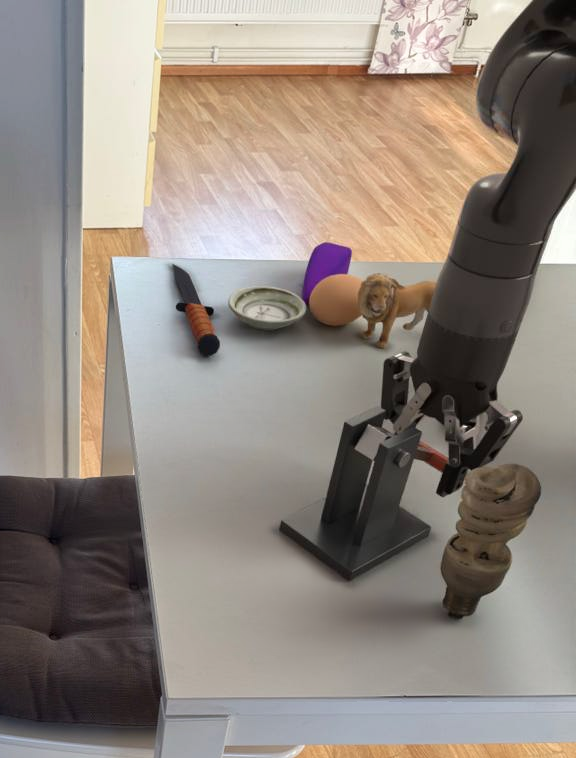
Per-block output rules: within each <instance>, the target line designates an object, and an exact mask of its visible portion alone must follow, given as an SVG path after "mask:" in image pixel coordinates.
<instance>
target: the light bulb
mask: <svg viewBox="0 0 576 758" xmlns="http://www.w3.org/2000/svg"><path fill="white" fill-rule="evenodd" d="M464 483H465V485H464V486H463V487H462V490H461V495H460V498H461V499H462V500H461V501H460V502H459V504H458V506H457V514H458V516H459V517H460V519H458V520H457V521H456V523H455V530H456V532H457V533H455V534H453V535H452V536H451V537H449V538H448V540H447V542H446V545H445V547H444V550H443V553H442V557H441V561H440V567H439V568H440V569H439V570H440V575H441V577H442V579H443V581H444V583H445V585H446V588H445V593H444V597H443V598H442V602H441V604H442V606H443V608H445V609H446V610H447V611H448V616H450V617H452V618H455V619H463V618H464V617H471V616H472V615H474V614H475V612H476V611H477V608H478V606H479V604H480V600H481V598H482V597H484V596H487V595H489V594H492V593H494V592H495V591H496V590H497V589H499V588H500V587H501V585H502V584H503V582H504V580H505V577H506V576H507V574H508V572H509V571H510V569H511V565H512V563H513V554H512V551H511V549H510V547H509V546H508V545H507V543H508V542H510V540H513V539H514V538H516V537H517V536H519V535H520V534H522V532H523V531H524V530H525V528H526V525H527V522H528V520H529V519H530V518H531V516H532V515H533V513H534V510H535V507H536V505H537V503H539V500H540V498H541V496H542V486H541V485H542V484H541V482H540V480H539V478H538V476H537V475H536V473H535V472H534V471H532V469H529V468H528V467H526V466H524V465H522V464H518V463H506V464H503V465H499V466H498V467H490V466H483V467H480V468H476V469H473V470H470V471H468V472H467V474H466V477H465V480H464Z"/></svg>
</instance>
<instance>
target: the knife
mask: <svg viewBox="0 0 576 758" xmlns="http://www.w3.org/2000/svg"><path fill="white" fill-rule="evenodd" d="M171 265H172V268H173V271H174V272H173V273H174V278H175V282H176V284H177V287H178V290H179V292H180V295H181V298H182V301H183V302H182V301H179V302H177V303H176V305H175V310H176V311H177V312H180V313H186V317H187V321H188V323H189V326H190V329H191V331H192V334H193V335H194V338H195V340H196V342H197V346H196V347H197V351H198V352H199V353H200V355H202V356H204V357H211V356H214V355H215V354H217V353H218V352H219V349H220V348H221V341H220V339H219V338H218V335H216V334H215V333H216V332H215V330H214V326H213V323H212V321H211V318H210V316H213V315H214V313H215V309H214V308H213V307H212V306H207V305H204V304H203V302H202V299H201V298H200V295H199V292H198V290H197V287H196V286H195V285H196V284H195V283H194V280H193V278H192V276H191V274H190V273H189V272H188V271H186V269H184V268H182V267H180V266H179V265H176V264H175V263H171Z"/></svg>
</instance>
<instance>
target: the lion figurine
mask: <svg viewBox="0 0 576 758" xmlns="http://www.w3.org/2000/svg"><path fill="white" fill-rule="evenodd" d="M436 283H437V281H431V280H423V281H420V282H417V283H415V284H411V285H406V286H404V285H401V284H399V282H398V281H397V280H396V279H395V278H391V277H389V276H388V275H387V274H384V273H373V274H371V275H368V276H367V277H366V278H365V280H362V282H361V287H360V289H359V292H358V309H359V312H360V313H361V314H362V316H361V317H362V319H365V321H366V322H367V329H366V330H364V331H362V333H361V334H360V335H361V338H363V339H365V340H367V339H371V338H372V336H373V335H374V333H375V331H376V325H377V324H378V323H382V329H381V333H380V336H379V338H378V340H377V341H376V343H375V344H376V346H377V347H378V348H380V349H381V348H382V349H385V348H386V347H387V345H388V343H389V338H390V333H391V331H392V327H393V325H394V323H395V321H396V319H398V318H405V317H409V316H411V315H413V314H414V318H413V319H412V320H411V321H410V322H405V323H404V324H403V325H402V328H403V330H405V331H411V330H414V328H416V326H417V325H418V324H420V322H422V321H423V320H424V314H425V311H426V312H427V313H428V311H429V307H430V304H431V300H432V296H433V292H434V290H435V286H436Z"/></svg>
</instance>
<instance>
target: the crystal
mask: <svg viewBox="0 0 576 758" xmlns="http://www.w3.org/2000/svg"><path fill="white" fill-rule="evenodd" d="M352 251H353V250H352V249H351V248H350V247H349V246H346V245H345V246H344V245H340V244H338V243H337V244H336V243H333V242H328V241H325V242H322V243H320V244H318V245H316V246H315V247H314V248H313V250H312V252H311V254H310V256H309V257H310V258H309V260H308V263H307V266H306V269H305V272H304V278H303V283H302V289H301V299H302V300H303V301H304V302H305V304H306V307H307V306H309V300H310V295H311V293H312V291H313V289H314V288H315V286H316V285H317V284H318V283H319V282H320V281H322V280H323V279H325V278H327V277H329V276H332V275H337V274H348V273H349V270H350V266H351V260H352V256H353V252H352ZM348 275H349V274H348ZM309 307H310V306H309Z"/></svg>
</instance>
